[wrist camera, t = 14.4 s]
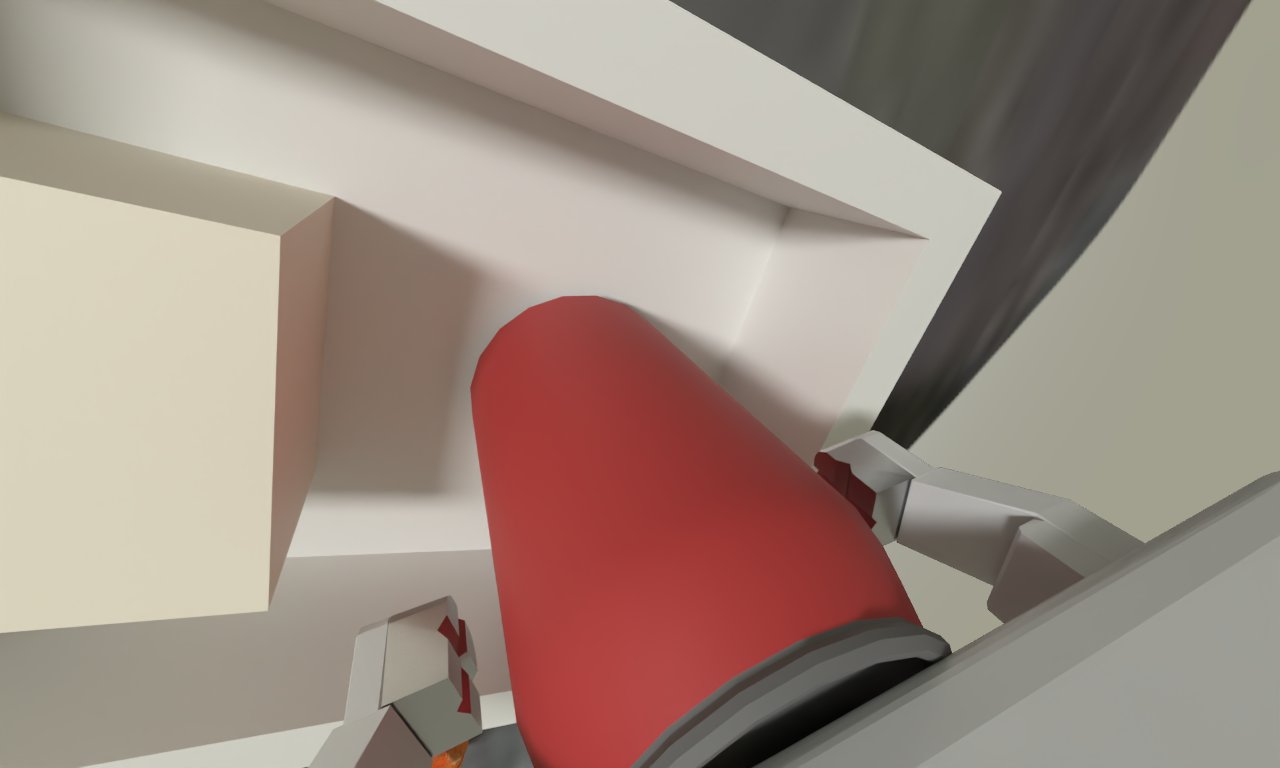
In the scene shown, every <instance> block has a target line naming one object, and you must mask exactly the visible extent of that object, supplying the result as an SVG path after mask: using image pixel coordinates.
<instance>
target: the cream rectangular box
mask: <svg viewBox="0 0 1280 768" xmlns="http://www.w3.org/2000/svg"><path fill="white" fill-rule="evenodd" d="M334 201H335V196H331V195H327V194H323V193H320V192H316V191H312V190H308V189H304V188H300V187H296V186H292V185H288V184H284V183H280V182H276V181H272V180H269V179H265V178H261V177H257V176H253V175H249V174H245V173H241V172H237V171H233V170H229V169H225V168H222V167H218V166H214V165H210V164H206V163H202V162H198V161H194V160H190V159H186V158H182V157H178V156H174V155H171V154H167V153H163V152H159V151H155V150H151V149H147V148H143V147H139V146H135V145H131V144H127V143H123V142H120V141H116V140H112V139H108V138H104V137H100V136H96V135H92V134H88V133H84V132H80V131H76V130H72V129H69V128H65V127H61V126H57V125H53V124H49V123H45V122H41V121H37V120H33V119H29V118H25V117H21V116H18V115H14V114H10V113H6V112H2V111H0V633H6V632H18V631H30V630H42V629H55V628H67V627H79V626H91V625H103V624H116V623H128V622H140V621H152V620H164V619H177V618H189V617H201V616H213V615H225V614H237V613H250V612H262V611H268V610H269V607H270V604H271V601H272V598H273V595H274V592H275V589H276V586H277V583H278V580H279V577H280V574H281V571H282V568H283V565H284V562H285V559H286V556H287V553H288V550H289V547H290V544H291V542H292V539H293V536H294V533H295V530H296V527H297V524H298V521H299V518H300V515H301V512H302V509H303V506H304V503H305V500H306V497H307V494H308V491H309V488H310V485H311V482H312V479H313V476H314V473H315V468H316V454H317V440H318V426H319V412H320V398H321V384H322V370H323V355H324V341H325V327H326V313H327V299H328V285H329V271H330V257H331V243H332V229H333V215H334Z"/></svg>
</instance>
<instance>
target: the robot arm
mask: <svg viewBox="0 0 1280 768" xmlns="http://www.w3.org/2000/svg"><path fill="white" fill-rule="evenodd" d="M814 466H815V467H816V469H817V470H818V472H817V473H818V474H819V475H820V476H821V477H822V478H823V479H824V480H825V481H826V482H828V483H829V484H830V485H831V486H832V487H833V488H834V489H835V490H837V491H838V492H839V493H840V494H841V495H842V496H843V497H844V498H845V499H847V500H848V501H849V502H850V503H851V504H852V505H853V506H854V507H855V508H856V509H857V510H858V512H859V513H860V515H861V516H862V517H863V519H864V520H865V522H866V523H867V524H868V526H869V527H870V529H871V530H872V531H873V533H874V534H875V535H876V537H877V538H878V540H879V541H880V542H881V544H882V546H884V545H886V544H888V543H891V542H893V541H895V540H897V543H899V544H902V545H904V546H906V547H908V548H911V549H913V550H915V551H917V552H919V553H922V554H924V555H926V556H928V557H931V558H933V559H935V560H937V561H939V562H942V563H944V564H946V565H948V566H951V567H953V568H955V569H957V570H960V571H962V572H964V573H966V574H968V575H971V576H973V577H975V578H977V579H980V580H982V581H984V582H986V583H988V584H991V585H993V586H994V587H993V589H992V591H991V594H990V596H989V598H988V601H987V607H988V610H989V611H990V612H992V613H993V614H994V615H995V616H996V617H997V618H998V619H999V620H1001V621H1002V622H1003V623H1004V624H1003V625H1001V626H999V627H998V628H996V629H994V630H992V631H991V632H989V633H987V634H985V635H984V636H982V637H980V638H978V639H977V640H975V641H973V642H971V643H970V644H968V645H966V646H964V647H963V648H961V649H959V650H957V651H956V652H954V653H952V654H950V655H949V656H947V657H945V658H943V659H942V660H940V661H938V662H936V663H934V664H933V665H931V666H929V667H927V668H926V669H924V670H922V671H920V672H919V673H917V674H915V675H913V676H912V677H910V678H908V679H906V680H905V681H903V682H901V683H899V684H898V685H896V686H894V687H892V688H891V689H889V690H887V691H885V692H884V693H882V694H880V695H878V696H877V697H875V698H873V699H871V700H870V701H868V702H866V703H864V704H863V705H861V706H859V707H857V708H856V709H854V710H852V711H850V712H849V713H847V714H845V715H843V716H842V717H840V718H838V719H836V720H835V721H833V722H831V723H829V724H828V725H826V726H824V727H822V728H821V729H819V730H817V731H815V732H813V733H812V734H810V735H808V736H806V737H805V738H803V739H801V740H799V741H798V742H796V743H794V744H792V745H791V746H789V747H787V748H785V749H784V750H782V751H780V752H778V753H777V754H775V755H773V756H771V757H770V758H768V759H766V760H764V761H763V762H761V763H759V764H757V765H756V766H754V767H752V768H1280V471H1278V472H1273V473H1270V474H1268V475H1265V476H1263V477H1261V478H1259V479H1257V480H1255V481H1254V482H1252V483H1250V484H1248V485H1247V486H1245V487H1243V488H1242V489H1240V490H1238V491H1236V492H1234V493H1233V494H1231V495H1229V496H1227V497H1226V498H1224V499H1222V500H1220V501H1219V502H1217V503H1215V504H1213V505H1212V506H1210V507H1208V508H1206V509H1205V510H1203V511H1201V512H1199V513H1198V514H1196V515H1194V516H1193V517H1191V518H1189V519H1187V520H1185V521H1183V522H1182V523H1180V524H1178V525H1176V526H1175V527H1173V528H1171V529H1169V530H1168V531H1166V532H1164V533H1162V534H1161V535H1159V536H1157V537H1155V538H1154V539H1152V540H1150V541H1148V542H1147V543H1143V542H1142V541H1140V540H1138V539H1137V538H1135V537H1133V536H1131V535H1130V534H1128V533H1126V532H1125V531H1123V530H1121V529H1120V528H1118V527H1116V526H1114V525H1113V524H1111V523H1109V522H1107V521H1106V520H1104V519H1102V518H1101V517H1099V516H1097V515H1096V514H1094V513H1092V512H1090V511H1089V510H1087V509H1085V508H1084V507H1082V506H1080V505H1078V504H1077V503H1075V502H1073V501H1071V500H1069V499H1066V498H1062V497H1057V496H1054V495H1050V494H1046V493H1042V492H1038V491H1033V490H1029V489H1026V488H1022V487H1018V486H1014V485H1010V484H1005V483H1001V482H998V481H993V480H990V479H985V478H981V477H977V476H974V475H970V474H965V473H961V472H958V471H954V470H950V469H945V468H942V467H940V468H937V469H934V468H932V467H931V466H930V465H928V464H927V463H925V462H924V461H922V460H920V459H919V458H918V457H916V456H915V455H913V454H912V453H910V452H909V451H907V450H906V449H904V448H903V447H901V446H900V445H898V444H897V443H895V442H894V441H892V440H891V439H889V438H888V437H886V436H885V435H883V434H882V433H880V432H878V431H874V430H872V431H869V432H867V433H864V434H862V435H859V436H856V437H854V438H851V439H848V440H846V441H843V442H841V443H838V444H836V445H833V446H831V447H828V448H826V449H823V450H821V451H818V453H817V454H816V455H815V457H814ZM477 671H478V670H477V660H476V653H475V648H474V644H473V639H472V636H471V633H470V630H469V628H468V626H467V624H466V622H465V620H462V619H459V618H458V609H457V605H456V603H455V601H454V600H453V598H452V596H451V595H450V596H445V597H443V598H440V599H437V600H434V601H432V602H429V603H426V604H423V605H421V606H418V607H415V608H412V609H409V610H407V611H404V612H401V613H398V614H396V615H393V616H391V617H388V618H386V619H383V620H380V621H377V622H375V623H372V624H369V625H367V626H364V627H361V629H360V631H359V633H358V635H357V637H356V642H355V649H354V655H353V662H352V669H351V675H350V682H349V689H348V695H347V702H346V709H345V716H344V722H343V725H342V726H340V727H338V728H335V729H333V731H332V732H331V734H330V735H329V737H328V738H327V740H326V741H325V743H324V744H323V746H322V747H321V749H320V750H319V752H318V753H317V755H316V756H315V758H314V759H313V761H312V762H311V764H310V766H309V767H308V768H431V766H432V764H433V759H432V758H433V757H435V756H437V755H439V754H441V753H443V752H445V751H447V750H449V749H451V748H453V747H455V746H457V745H459V744H461V743H463V742H465V741H467V740H469V739H471V738H473V737H475V736H477V735H479V734H481V733H483V730H482V718H481V705H480V694H479V693H478V691H477V689H476V687H475V685H474V684H473V682H472V681H473V679H474V677H475V675H476V673H477Z"/></svg>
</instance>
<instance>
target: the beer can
mask: <svg viewBox="0 0 1280 768" xmlns="http://www.w3.org/2000/svg"><path fill="white" fill-rule="evenodd" d="M470 392H471V404H472V417H473V424H474V431H475V438H476V445H477V452H478V459H479V466H480V473H481V480H482V486H483V493H484V500H485V507H486V514H487V521H488V528H489V535H490V542H491V549H492V556H493V563H494V570H495V577H496V584H497V591H498V598H499V605H500V611H501V618H502V625H503V632H504V639H505V646H506V653H507V660H508V667H509V674H510V681H511V688H512V695H513V702H514V709H515V716H516V723H517V725H518V728H519V730H520V733H521V735H522V738H523V741H524V743H525V746H526V748H527V751H528V754H529V756H530V759H531V761H532V764H533V766H534V768H752V767H754V766H756V765H757V764H759V763H761V762H763V761H764V760H766V759H768V758H770V757H771V756H773V755H775V754H777V753H778V752H780V751H782V750H784V749H785V748H787V747H789V746H791V745H792V744H794V743H796V742H798V741H799V740H801V739H803V738H805V737H806V736H808V735H810V734H812V733H813V732H815V731H817V730H819V729H821V728H822V727H824V726H826V725H828V724H829V723H831V722H833V721H835V720H836V719H838V718H840V717H842V716H843V715H845V714H847V713H849V712H850V711H852V710H854V709H856V708H857V707H859V706H861V705H863V704H864V703H866V702H868V701H870V700H871V699H873V698H875V697H877V696H878V695H880V694H882V693H884V692H885V691H887V690H889V689H891V688H892V687H894V686H896V685H898V684H899V683H901V682H903V681H905V680H906V679H908V678H910V677H912V676H913V675H915V674H917V673H919V672H920V671H922V670H924V669H926V668H927V667H929V666H931V665H933V664H934V663H936V662H938V661H940V660H942V659H943V658H945V657H947V656H949V655H950V654H952V652H951V648H950V645H949V644H948V643H947V642H946V641H945V640H944V639H943V638H942V637H941V636H940V635H938V634H936V633H933V632H931V631H929V630H927V629H924V628H923V626H922V624H921V622H920V620H919V618H918V616H917V614H916V612H915V610H914V607H913V605H912V603H911V601H910V599H909V597H908V595H907V593H906V591H905V589H904V587H903V585H902V583H901V581H900V579H899V577H898V575H897V573H896V571H895V569H894V567H893V565H892V563H891V561H890V559H889V557H888V555H887V553H886V551H885V550H884V548H883V546H882V544H881V542H880V541H879V540H878V538H877V537H876V535H875V534H874V533H873V531H872V530H871V529H870V527H869V526H868V524H867V523H866V522H865V520H864V519H863V517H862V516H861V515H860V513H859V512H858V510H857V509H856V508H855V507H854V506H853V505H852V504H851V503H850V502H849V501H848V500H847V499H845V498H844V497H843V496H842V495H841V494H840V493H839V492H838V491H837V490H835V489H834V488H833V487H832V486H831V485H830V484H829V483H828V482H826V481H825V480H824V479H823V478H822V477H821V476H820V475H819V474H818V473H816V472H815V471H814V470H813V469H812V468H811V467H810V466H809V465H808V464H806V463H805V462H804V461H803V460H802V459H801V458H800V457H799V456H797V455H796V454H795V453H794V452H793V451H792V450H791V449H790V448H789V447H787V446H786V445H785V444H784V443H783V442H782V441H781V440H780V439H779V438H777V437H776V436H775V435H774V434H773V433H772V432H771V431H770V430H768V429H767V428H766V427H765V426H764V425H763V424H762V423H761V422H760V421H758V420H757V419H756V418H755V417H754V416H753V415H752V414H751V413H750V412H748V411H747V410H746V409H745V408H744V407H743V406H742V405H741V404H739V403H738V402H737V401H736V400H735V399H734V398H733V397H732V396H731V395H729V394H728V393H727V392H726V391H725V390H724V389H723V388H722V387H721V386H719V385H718V384H717V383H716V382H715V381H714V380H713V379H712V378H710V377H709V376H708V375H707V374H706V373H705V372H704V371H703V370H702V369H700V368H699V367H698V366H697V365H696V364H695V363H694V362H693V361H692V360H690V359H689V358H688V357H687V356H686V355H685V354H684V353H683V352H681V351H680V350H679V349H678V348H677V347H676V346H675V345H674V344H673V343H671V342H670V341H669V340H668V339H667V338H666V337H665V336H664V335H663V334H661V333H660V332H659V331H658V330H657V329H656V328H655V327H654V326H652V325H651V324H650V323H649V322H648V321H647V320H645V319H644V318H643V317H641V316H640V315H639V314H637V313H636V312H635V311H633V310H632V309H631V308H630V307H628V306H627V305H625V304H622V303H619V302H616V301H612V300H609V299H606V298H603V297H600V296H596V295H595V296H562V297H559V298H556V299H553V300H550V301H547V302H544V303H541V304H538V305H535V306H532V307H529V308H528V309H526V310H525V311H523V312H522V313H521V314H519V315H518V316H517V317H515V318H514V319H512V320H511V321H510V322H508V323H507V324H506V325H504V326H503V327H501V328H500V329H499V330H498V332H497V333H496V335H495V336H494V337H493V339H492V340H491V341H490V343H489V344H488V346H487V347H486V348H485V350H484V351H483V352H482V354H481V355H480V357H479V360H478V363H477V366H476V370H475V373H474V376H473V380H472V383H471V386H470Z"/></svg>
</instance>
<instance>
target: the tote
mask: <svg viewBox="0 0 1280 768" xmlns="http://www.w3.org/2000/svg"><path fill="white" fill-rule="evenodd" d="M0 111H2V112H6V113H10V114H14V115H18V116H21V117H25V118H29V119H33V120H37V121H41V122H45V123H49V124H53V125H57V126H61V127H65V128H69V129H72V130H76V131H80V132H84V133H88V134H92V135H96V136H100V137H104V138H108V139H112V140H116V141H120V142H123V143H127V144H131V145H135V146H139V147H143V148H147V149H151V150H155V151H159V152H163V153H167V154H171V155H174V156H178V157H182V158H186V159H190V160H194V161H198V162H202V163H206V164H210V165H214V166H218V167H222V168H225V169H229V170H233V171H237V172H241V173H245V174H249V175H253V176H257V177H261V178H265V179H269V180H272V181H276V182H280V183H284V184H288V185H292V186H296V187H300V188H304V189H308V190H312V191H316V192H320V193H323V194H327V195H331V196H335V201H334V215H333V229H332V243H331V257H330V271H329V285H328V299H327V313H326V327H325V341H324V355H323V370H322V384H321V398H320V412H319V426H318V440H317V454H316V468H315V473H314V476H313V479H312V482H311V485H310V488H309V491H308V494H307V497H306V500H305V503H304V506H303V509H302V512H301V515H300V518H299V521H298V524H297V527H296V530H295V533H294V536H293V539H292V542H291V544H290V547H289V550H288V553H287V556H286V559H285V562H284V565H283V568H282V571H281V574H280V577H279V580H278V583H277V586H276V589H275V592H274V595H273V598H272V601H271V604H270V607H269V610H268V611H262V612H250V613H237V614H225V615H213V616H201V617H189V618H177V619H164V620H152V621H140V622H128V623H116V624H103V625H91V626H79V627H67V628H55V629H42V630H30V631H18V632H6V633H0V768H303V767H308V766H310V764H311V762H312V761H313V759H314V758H315V756H316V755H317V753H318V752H319V750H320V749H321V747H322V746H323V744H324V743H325V741H326V740H327V738H328V737H329V735H330V734H331V732H332V731H333V729H335V728H338V727H340V726H342V725H343V722H344V716H345V709H346V702H347V695H348V689H349V682H350V675H351V669H352V662H353V655H354V649H355V642H356V637H357V635H358V633H359V631H360V629H361V627H364V626H367V625H369V624H372V623H375V622H377V621H380V620H383V619H386V618H388V617H391V616H393V615H396V614H398V613H401V612H404V611H407V610H409V609H412V608H415V607H418V606H421V605H423V604H426V603H429V602H432V601H434V600H437V599H440V598H443V597H445V596H450V595H451V596H452V598H453V600H454V601H455V603H456V605H457V609H458V618H459V619H462V620H465V622H466V624H467V626H468V628H469V630H470V633H471V636H472V639H473V644H474V648H475V653H476V660H477V670H478V671H477V673H476V675H475V677H474V679H473V681H472V682H473V684H474V685H475V687H476V689H477V691H478V693H479V694H480V705H481V718H482V730H484V729H489V728H493V727H498V726H503V725H508V724H512V723H516V716H515V709H514V702H513V695H512V688H511V681H510V674H509V667H508V660H507V653H506V646H505V639H504V632H503V625H502V618H501V611H500V605H499V598H498V591H497V584H496V577H495V570H494V563H493V556H492V549H491V542H490V535H489V528H488V521H487V514H486V507H485V500H484V493H483V486H482V480H481V473H480V466H479V459H478V452H477V445H476V438H475V431H474V424H473V417H472V404H471V392H470V386H471V383H472V380H473V376H474V373H475V370H476V366H477V363H478V360H479V357H480V355H481V354H482V352H483V351H484V350H485V348H486V347H487V346H488V344H489V343H490V341H491V340H492V339H493V337H494V336H495V335H496V333H497V332H498V330H499V329H500V328H501V327H503V326H504V325H506V324H507V323H508V322H510V321H511V320H512V319H514V318H515V317H517V316H518V315H519V314H521V313H522V312H523V311H525V310H526V309H528V308H529V307H532V306H535V305H538V304H541V303H544V302H547V301H550V300H553V299H556V298H559V297H562V296H595V295H596V296H600V297H603V298H606V299H609V300H612V301H616V302H619V303H622V304H625V305H627V306H628V307H630V308H631V309H632V310H633V311H635V312H636V313H637V314H639V315H640V316H641V317H643V318H644V319H645V320H647V321H648V322H649V323H650V324H651V325H652V326H654V327H655V328H656V329H657V330H658V331H659V332H660V333H661V334H663V335H664V336H665V337H666V338H667V339H668V340H669V341H670V342H671V343H673V344H674V345H675V346H676V347H677V348H678V349H679V350H680V351H681V352H683V353H684V354H685V355H686V356H687V357H688V358H689V359H690V360H692V361H693V362H694V363H695V364H696V365H697V366H698V367H699V368H700V369H702V370H703V371H704V372H705V373H706V374H707V375H708V376H709V377H710V378H712V379H713V380H714V381H715V382H716V383H717V384H718V385H719V386H721V387H722V388H723V389H724V390H725V391H726V392H727V393H728V394H729V395H731V396H732V397H733V398H734V399H735V400H736V401H737V402H738V403H739V404H741V405H742V406H743V407H744V408H745V409H746V410H747V411H748V412H750V413H751V414H752V415H753V416H754V417H755V418H756V419H757V420H758V421H760V422H761V423H762V424H763V425H764V426H765V427H766V428H767V429H768V430H770V431H771V432H772V433H773V434H774V435H775V436H776V437H777V438H779V439H780V440H781V441H782V442H783V443H784V444H785V445H786V446H787V447H789V448H790V449H791V450H792V451H793V452H794V453H795V454H796V455H797V456H799V457H800V458H801V459H802V460H803V461H804V462H805V463H806V464H808V465H809V466H810V467H811V468H812V469H813V470H814V471H815V472H816V473H817V472H818V470H817V469H816V467H815V466H814V457H815V455H816V454H817V453H818V451H821V450H823V449H826V448H828V447H831V446H833V445H836V444H838V443H841V442H843V441H846V440H848V439H851V438H854V437H856V436H859V435H862V434H864V433H867V432H869V431H870V429H871V427H872V426H873V424H874V422H875V420H876V418H877V417H878V415H879V413H880V411H881V409H882V408H883V406H884V404H885V402H886V400H887V398H888V397H889V395H890V393H891V391H892V389H893V388H894V386H895V384H896V382H897V380H898V379H899V377H900V375H901V373H902V371H903V370H904V368H905V366H906V364H907V362H908V361H909V359H910V357H911V355H912V353H913V352H914V350H915V348H916V346H917V344H918V343H919V341H920V339H921V337H922V335H923V334H924V332H925V330H926V328H927V326H928V325H929V323H930V321H931V319H932V317H933V315H934V314H935V312H936V310H937V308H938V306H939V305H940V303H941V301H942V299H943V297H944V296H945V294H946V292H947V290H948V288H949V287H950V285H951V283H952V281H953V279H954V278H955V276H956V274H957V272H958V270H959V269H960V267H961V265H962V263H963V261H964V260H965V258H966V256H967V254H968V252H969V251H970V249H971V247H972V245H973V243H974V242H975V240H976V238H977V236H978V234H979V233H980V231H981V229H982V227H983V225H984V223H985V222H986V220H987V218H988V216H989V214H990V213H991V211H992V209H993V207H994V205H995V204H996V202H997V200H998V198H999V196H1000V195H1001V193H1002V192H1001V191H1000V190H998V189H996V188H994V187H993V186H991V185H989V184H987V183H986V182H984V181H982V180H980V179H979V178H977V177H975V176H974V175H972V174H970V173H968V172H967V171H965V170H963V169H961V168H960V167H958V166H956V165H954V164H953V163H951V162H949V161H947V160H946V159H944V158H942V157H940V156H939V155H937V154H935V153H933V152H932V151H930V150H928V149H927V148H925V147H923V146H921V145H920V144H918V143H916V142H914V141H913V140H911V139H909V138H907V137H906V136H904V135H902V134H900V133H899V132H897V131H895V130H893V129H892V128H890V127H888V126H886V125H885V124H883V123H881V122H880V121H878V120H876V119H874V118H873V117H871V116H869V115H867V114H866V113H864V112H862V111H860V110H859V109H857V108H855V107H853V106H852V105H850V104H848V103H846V102H845V101H843V100H841V99H839V98H838V97H836V96H834V95H832V94H831V93H829V92H827V91H826V90H824V89H822V88H820V87H819V86H817V85H815V84H813V83H812V82H810V81H808V80H806V79H805V78H803V77H801V76H799V75H798V74H796V73H794V72H792V71H791V70H789V69H787V68H785V67H784V66H782V65H780V64H779V63H777V62H775V61H773V60H772V59H770V58H768V57H766V56H765V55H763V54H761V53H759V52H758V51H756V50H754V49H752V48H751V47H749V46H747V45H745V44H744V43H742V42H740V41H738V40H737V39H735V38H733V37H731V36H730V35H728V34H726V33H725V32H723V31H721V30H719V29H718V28H716V27H714V26H712V25H711V24H709V23H707V22H705V21H704V20H702V19H700V18H698V17H697V16H695V15H693V14H691V13H690V12H688V11H686V10H684V9H683V8H681V7H679V6H678V5H676V4H674V3H672V2H671V1H669V0H0Z"/></svg>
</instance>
